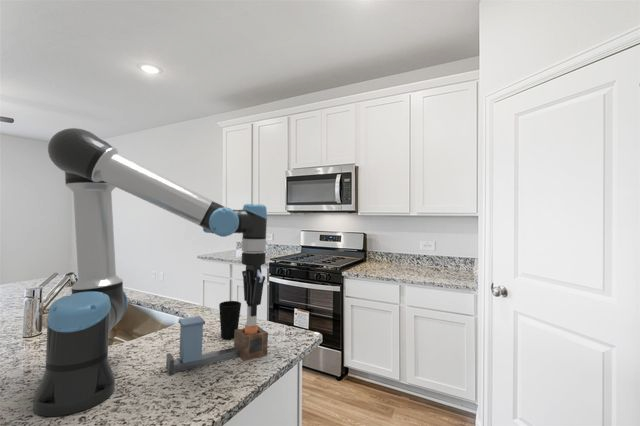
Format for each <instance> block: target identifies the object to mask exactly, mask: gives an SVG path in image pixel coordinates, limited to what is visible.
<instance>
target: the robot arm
mask: <svg viewBox="0 0 640 426" xmlns="http://www.w3.org/2000/svg"><path fill="white" fill-rule="evenodd" d="M47 146H48V147H47V152H48V156H49V158H50V159H49V160H51V162H52V163H53V164H54V165H55V167H57V168H58V169H60V170H61V171H63V172H64V176H65V177H64V180H65V186H66V188H68V189H70V191H72V192H73V208H74V209H73V211H74V226H75V227H74V228H75V229H74V230H75V231H74V232H75V245H76V246H75V247H76V248H75V249H76V263H77V264H76V265H77V281H76V282H75V283H74V284H73V285H72V286H71V287H70V288H71V293H70V295H64V296H61V297H59V298H57V299H56V300H55V301H53V302H52V303H51V305H50V306H49V308H48V314H47V316H46V317H47V318H46V324H47V325H46V326H47V327H46V351H45V352H46V353H45V370H44V373H43V375H42V378H41V380H40V382H39V385H38V387H37V390H36V392H35V394H34V397H33V406H32V407H33V412H34V413H35V414H37V415H39V416H42V417H61V416H66V415H71V414H75V413H79V412H82V411H86V410H88V409H91V408H92V407H93V408H94V407H95V406H97V405H99V404H101V403H103V402H104V401H105V400H107V399H108V398H109V397H110V396H112V395H113V393H114V392H115V386H116V377H115V375H114V372H113V369H112V366H111V363H110V361H109V355H108V354H109V333H110V331H112V329H113V328H114V327H115V326H116V325H117V324H119V323H120V321H121V320H122V319H123V318H124V316H125V314H126V312H127V310H128V303H129V300H128V295H127V294H126V292H125V291H124V286H123V284H124V283H123V279H122V278H121V277H120V276H118V275H117V274H116V273H117V271H116V252H115V235H114V218H113V217H114V216H113V213H114V212H113V199H112V196H113V195H112V192H113V191H114V189H115V188H117V189H118V190H121V191H124V192H126V193H128V194H131V195H133V196H134V197H136V198H139V199H141V200H142V201H145V202H146V203H147V202H148V203H150V204H151V205H154V206H156V207H159V208H161V209H162V210H164V211H167V212H169V213H171V214H174V215H175V216H178V217H179V218H182V219H184V220H187V221H188V222H191V223H193V224H195V225H197V226H199V227H201V228H202V231H203V232H204V233H206V234H207V233H208V234H214V235H216V236H219V237H223V238H224V237H228V236H232V235H233V234H242V239H241V251H242V253H241V264H242V265H244V266H245V270H242V271H241V274H242V280H243V282H242V283H243V284H242V285H243V299H244V302H246V305H247V306H246V307H247V308H246V325H247V326H248V327H250V326H255V325H257V323H258V322H257V317H258V315H257V314H258V312H257V311H258V306H259V305H261V304H262V296H263V291H264V289H263V288H264V283H265V281H266V276H264V275H262V265H265V264H266V257H267V256H266V252H265V251H266V250H267V249H266V248H267V227H268V226H267V225H268V224H267V222H268V221H267V220H268V216H267V215H268V214H267V212H268V211H267V209H268V208H267V206H266V205H265V204H260V203H258V204H257V203H245V204H244V205H243V207H242V209H232V208H229V207H226V206H224V205H222V204H220V203H218V202H216V201H213V200H212V199H210V198H208V197H206V196H204V195H201V193H198V192H196V191H194V190H192V189H190V188H187V187H186V186H183V185H182V184H179V183H177V182H175V181H173V180H171V179H170V178H167V177H165V176H163V175H162V174H159V173H157V172H155V171H153V170H151V169H150V168H147V167H145V166H143V165H141V164H139V163H137V162H135V161H134V160H131V159H129V158H128V157H125V156H124V155H121V154H120V153H119V152H118V149H117V148H116V147H114V146H112V145H111V144H110V143H108V142H107V141H105V140H103V139H101V138H100V137H98V136H97V135H95V134H94V133H93V132H91V131H88V130H85V129H83V128H76V127H72V128H71V127H69V128H65V129H62V130H60V131H57V132H56V133H55V134H54V135H53V136H52V137H51V138H50V140H49V143H48V145H47Z"/></svg>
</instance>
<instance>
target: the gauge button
mask: <svg viewBox="0 0 640 426" xmlns="http://www.w3.org/2000/svg"><path fill="white" fill-rule="evenodd" d="M258 326H259V325H258V324H256V325H255V326H250V327H248V326H247V324H246V325H244V328H245V334H246V335H251V334H256V333H257V330H258Z"/></svg>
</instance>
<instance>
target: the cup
mask: <svg viewBox="0 0 640 426" xmlns="http://www.w3.org/2000/svg"><path fill="white" fill-rule="evenodd" d="M218 306H219V307H218V308H219V323H220V338H221V339H222V340H226V341H228V340H229V341H231V340H234V332H235V330H237V329H239V323H240V315H241V307H242V302H241V301H237V300H226V301H222V302H220V303H219V304H218Z"/></svg>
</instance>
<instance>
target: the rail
mask: <svg viewBox="0 0 640 426" xmlns="http://www.w3.org/2000/svg"><path fill="white" fill-rule="evenodd" d="M236 358H240V357H239V350H238V349H237V348H236V347H234V346H233V347H231V348H225V349H221V350H217V351H212V352H208V353H202V359H200V360H196V361H191V362H187V363H183V362H182V360H181V359H180V358H179V359H174V357H173V355H172V353H171V352H168V353H166V361H165V363H166V368H165V369H166V370H167V373H168V375H169V376H174V373H177V372H181V371H182V372H183V371H186V370H191V369H194V368H197V367H198V368H199V367H202V366H207V365H211V364H214V363H218V362H223V361H228V360H231V359H236Z"/></svg>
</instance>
